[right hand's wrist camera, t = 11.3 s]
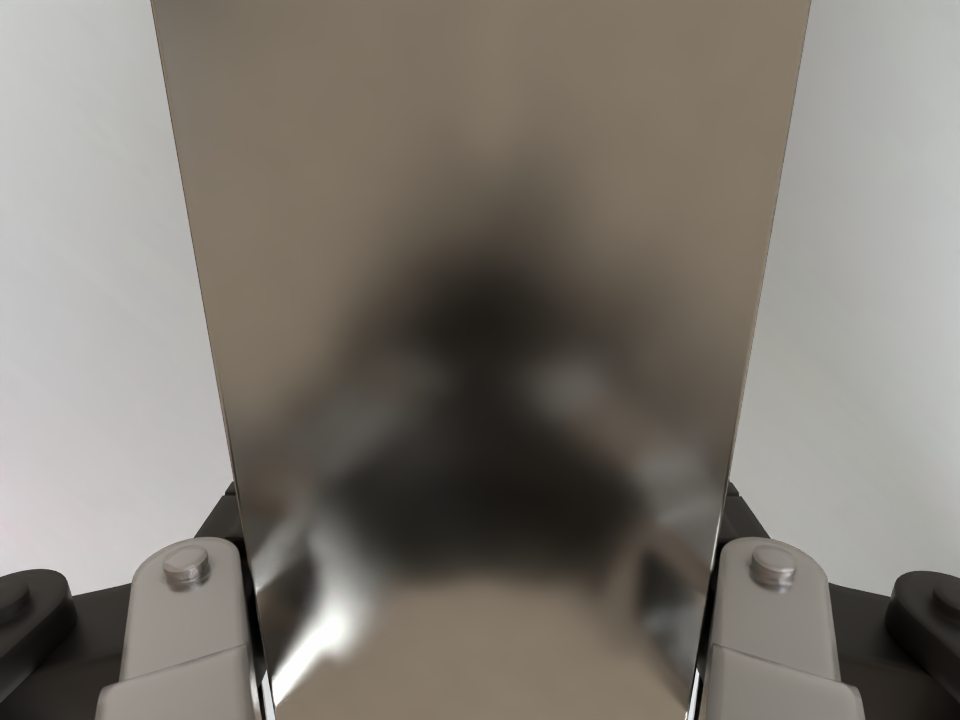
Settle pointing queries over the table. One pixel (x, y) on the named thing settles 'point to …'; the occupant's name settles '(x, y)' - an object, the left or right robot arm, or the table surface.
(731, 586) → the right robot arm
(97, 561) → the table surface
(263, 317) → the bar
